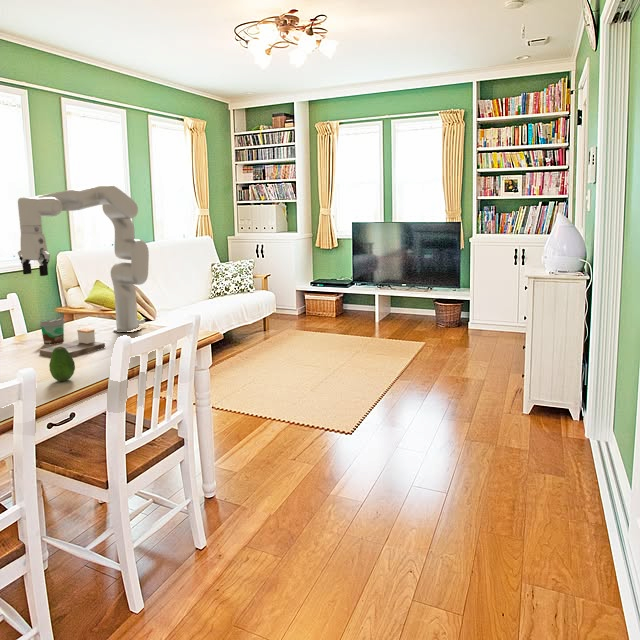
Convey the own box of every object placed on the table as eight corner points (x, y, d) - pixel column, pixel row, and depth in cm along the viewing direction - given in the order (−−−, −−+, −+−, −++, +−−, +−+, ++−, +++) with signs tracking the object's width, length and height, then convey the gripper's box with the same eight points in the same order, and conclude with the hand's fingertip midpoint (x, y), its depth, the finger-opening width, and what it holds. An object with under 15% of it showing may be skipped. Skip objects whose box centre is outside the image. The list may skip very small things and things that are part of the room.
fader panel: (81, 343, 247) (81, 339, 246) (105, 347, 240) (104, 342, 240) (39, 354, 229) (39, 349, 229) (64, 359, 223) (63, 354, 223)
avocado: (45, 383, 194) (42, 348, 192) (59, 376, 202) (56, 343, 199) (67, 385, 193) (64, 350, 190) (81, 378, 201) (78, 344, 198)
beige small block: (86, 340, 243) (85, 328, 242) (95, 341, 241) (94, 329, 240) (78, 342, 240) (77, 329, 239) (87, 343, 237) (86, 331, 236)
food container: (54, 346, 243) (52, 322, 241) (41, 345, 244) (39, 322, 242) (72, 339, 254) (70, 316, 252) (60, 338, 256) (58, 316, 254)
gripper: (55, 230, 222) (59, 275, 226) (25, 229, 230) (29, 272, 234) (37, 231, 216) (42, 277, 219) (7, 230, 224) (12, 274, 227)
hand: (35, 274), depth 226 cm, fingers open, 9 cm apart
